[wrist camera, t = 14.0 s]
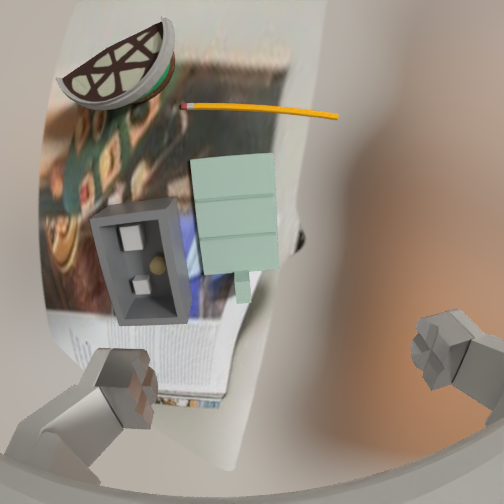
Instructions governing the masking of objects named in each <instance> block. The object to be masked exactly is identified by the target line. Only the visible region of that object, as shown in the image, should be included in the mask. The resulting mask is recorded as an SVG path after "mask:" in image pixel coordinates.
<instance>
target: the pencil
mask: <svg viewBox="0 0 504 504" xmlns="http://www.w3.org/2000/svg"><path fill="white" fill-rule="evenodd" d="M181 109H182V110H236V111H255V112H270V113H282V114H292V115H301V116H310V117H319V118H325V119H332V120H338V117H339V116H338V114H335V113H328V112H321V111H314V110H306V109H297V108H288V107H277V106H265V105H250V104H226V103H182V105H181Z"/></svg>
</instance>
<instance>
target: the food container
mask: <svg viewBox="0 0 504 504" xmlns="http://www.w3.org/2000/svg"><path fill="white" fill-rule="evenodd" d="M161 19H162V22H160V23H158V24H155V25H153V26H151V27H149V28H147V29H145V30H143V31H141V32H139V33H137V34H135V35H133V36H131V37H129V38H127V39H125V40H122V41H120V42H118V43H116V44H114V45H112V46H110V47H108V48H106V49H105V50H103V51H102V52H100V53H99V54H97V55H96V56H95V57H93V58H92V59H90V60H89V61H87V62H86V63H85V64H83V65H81V66H80V67H78V68H77V69H75V70H74V71H73V72H71V73H70V74H68V75H67V76H65V77H64V78H57V77H56V80H57V82H58V85H59V86H60V88H61V89H62V91H63V92H64V93H65V94H66V95H67V96H68V98H70V99H71V100H73V101H74V102H76V103H78V104H79V105H81V106H83V107H86V108H88V109H93V110H110V109H116V108H119V107H122V106H125V105H127V104H129V103H140V102H145V101H147V100H149V99H151V98H153V97H155V96H156V95H158V94H159V93H160V92H161V91H162V90H163V89H164V88H165V87H166V85H167V84H168V83H169V81H170V79H171V77H172V75H173V72H174V67H175V55H174V51H173V49H174V42H175V34H174V27H173V24H172V21H171V20H169V19H167V18H164V19H163V17H162V16H161Z"/></svg>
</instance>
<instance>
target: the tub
mask: <svg viewBox="0 0 504 504" xmlns="http://www.w3.org/2000/svg"><path fill="white" fill-rule="evenodd" d="M90 224H91V228H92V233H93V237H94V241H95V245H96V250H97V253H98V257H99V261H100V265H101V269H102V272H103V276H104V279H105V283H106V286H107V289H108V293H109V296H110V299H111V302H112V305H113V308H114V311H115V314H116V317H117V320H118V323H119V326H142V325H169V324H187V323H188V318H189V313H190V308H191V303H192V299H193V297H192V292H191V286H190V281H189V275H188V269H187V263H186V257H185V251H184V245H183V239H182V232H181V226H180V219H179V212H178V205H177V197H176V196H175V197H167V198H158V199H151V200H143V201H136V202H129V203H122V204H115V205H109V206H108V207H106V208H105V209H103V210H102V211H100V212H99V213H97V214H96V215H95V216H93V217H92V218H90Z"/></svg>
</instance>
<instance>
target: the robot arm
mask: <svg viewBox="0 0 504 504" xmlns="http://www.w3.org/2000/svg"><path fill="white" fill-rule="evenodd" d="M416 330H417V332H418V334H417V335H416V337H415V338H414V339H413V340H412V344H411V357H412V360H413V363H414V364H415V366H416V367H417V368H419V369H421V370H423V378H424V380H425V381H426V383H427V384H428V386H429V387H430V389H431V391H432V390H435V389H438V388H441V387H444V386H447V385H450V384H452V385H453V386H454V387H456V388H457V389H459V390H460V391H462V392H464V393H465V394H467V395H468V396H470V397H471V398H473V399H475V400H476V401H478V402H479V403H481V404H482V405H484V406H485V407H487V408H489V409H490V410H492V412H491V413H490V415H489V416H488V418H487V419H486V422H485V425H486V426H487V427H486V428H484V429H482V430H480V431H478V432H477V433H475V434H473V435H471V436H469V437H467V438H465V439H463V440H461V441H459V442H457V443H455V444H453V445H451V446H449V447H446V448H444V449H442V450H440V451H437V452H435V453H433V454H430V455H428V456H425V457H423V458H421V459H418V460H415V461H413V462H410V463H407V464H404V465H402V466H399V467H396V468H393V469H390V470H387V471H384V472H380V473H377V474H374V475H370V476H367V477H364V478H359V479H356V480H352V481H347V482H343V483H339V484H335V485H330V486H325V487H320V488H315V489H308V490H303V491H296V492H289V493H281V494H271V495H260V496H247V497H181V496H167V495H157V494H148V493H139V492H133V491H126V490H120V489H114V488H109V487H104V486H100V483H101V481H100V480H99V478H98V477H97V476H96V475H95V474H94V473H93V472H92V471H91V470H90V469H89V468H88V467H89V466H90V465H91V464H92V463H93V462H94V461H95V460H96V459H97V458H98V457H99V456H100V455H101V453H102V452H103V451H104V450H105V449H106V448H107V447H108V446H109V445H110V444H111V443H112V442H113V440H114V439H115V438H116V437H117V436H118V435H119V434H120V433H121V432H122V431H123V428H131V429H150V428H151V423H152V419H153V414H154V411H153V409H152V407H151V405H152V404H153V403H154V402H155V401H156V400H157V395H158V382H157V377H156V374H155V371H154V370H153V369H152V368H150V367H149V362H150V358H149V355H148V353H147V351H146V350H144V349H117V348H114V349H111V348H99V349H97V350H96V351H95V352H94V354H93V356H92V358H91V360H90V362H89V364H88V366H87V368H86V370H85V372H84V374H83V377H82V378H81V380H80V383H79V384H78V385H73V386H71V387H70V388H68V389H67V390H66V391H64V392H63V393H61V394H60V395H58V396H57V397H56V398H54V399H53V400H51V401H50V402H48V403H47V404H46V405H44V406H43V407H41V408H40V409H38V410H37V411H35V412H34V413H33V414H31V415H30V416H28V417H27V418H25V419H24V420H22V421H21V422H20V423H19V424H18V426H17V429H16V431H15V432H14V434H13V437H12V439H11V441H10V443H9V445H8V447H7V449H6V452H5V454H4V455H3V454H1V453H0V504H504V339H501V338H499V337H496V336H493V335H491V334H486V335H485V334H484V332H483V331H482V330H481V329H480V328H479V327H477V325H476V324H475V323H474V322H473V321H472V320H471V319H470V318H469V317H467V315H466V314H464V313H463V312H462V311H461V310H460V309H457V308H456V309H452V310H449V311H445V312H443V313H439V314H434V315H430V316H426V317H422V318H420V319H419V321H418V322H417V326H416Z"/></svg>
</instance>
